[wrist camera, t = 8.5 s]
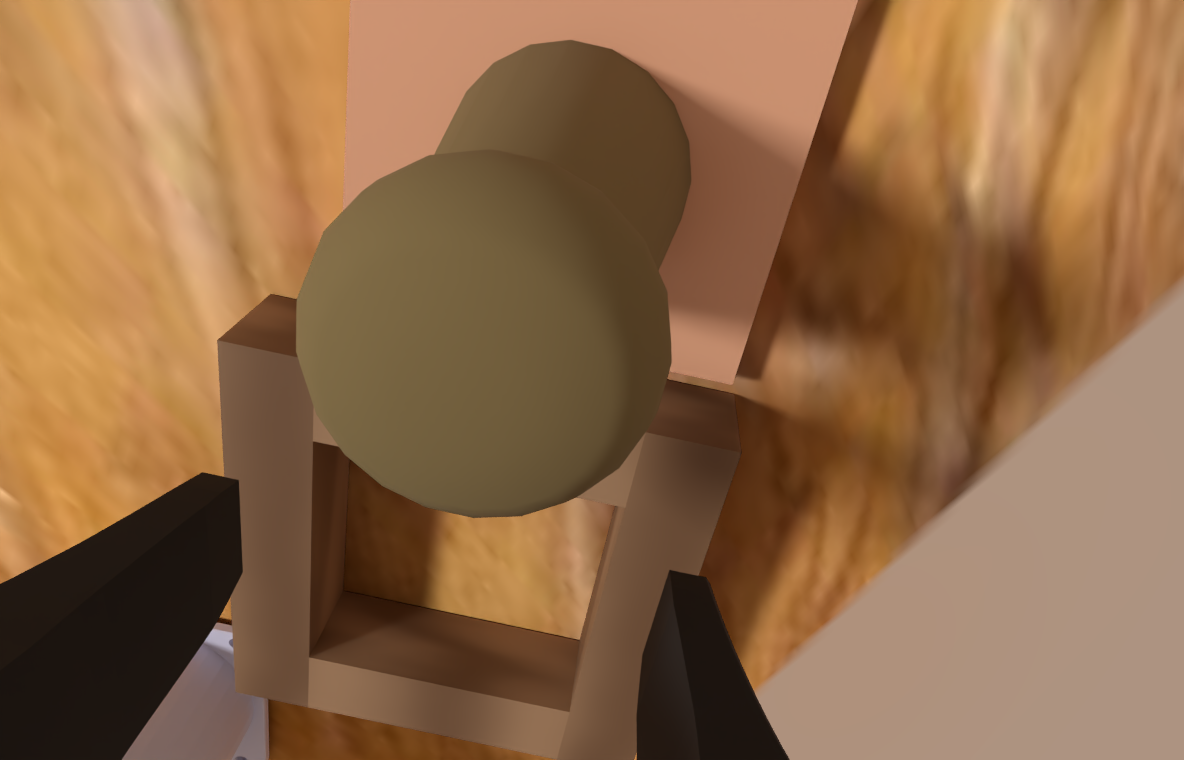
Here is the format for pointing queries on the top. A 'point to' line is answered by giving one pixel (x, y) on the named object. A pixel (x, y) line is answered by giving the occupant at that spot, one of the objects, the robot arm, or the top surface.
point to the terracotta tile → (685, 73)
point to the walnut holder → (433, 638)
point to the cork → (505, 290)
